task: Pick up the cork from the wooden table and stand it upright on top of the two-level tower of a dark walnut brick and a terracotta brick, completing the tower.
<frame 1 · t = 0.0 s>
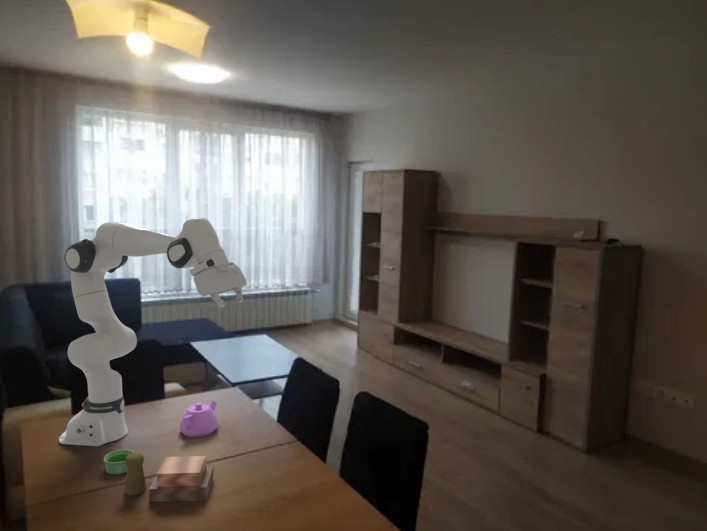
hand: (231, 304, 160), 54 cm above the table, tool tilted 30°, fingers open, 8 cm apart
teapot: (200, 430, 194), on the table
cork: (135, 490, 153), on the table
ramekin: (119, 469, 164), on the table
brick tower: (182, 489, 153), on the table
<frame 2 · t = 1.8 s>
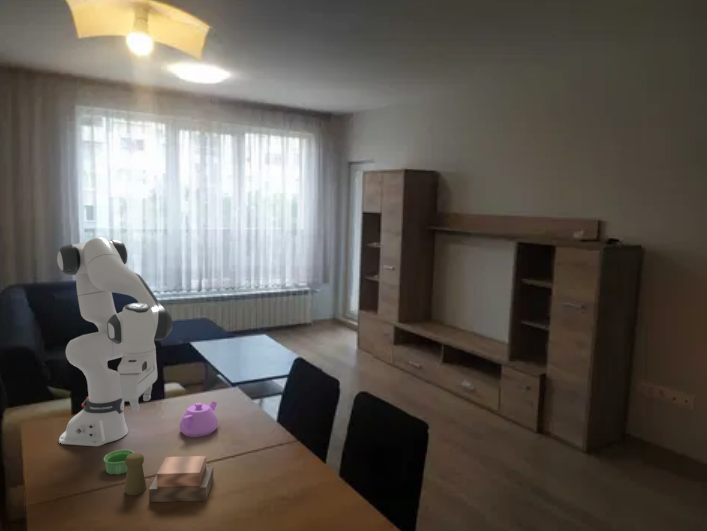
hand: (141, 405, 150), 26 cm above the table, tool pointing down, fingers open, 8 cm apart
nothing on the table moved.
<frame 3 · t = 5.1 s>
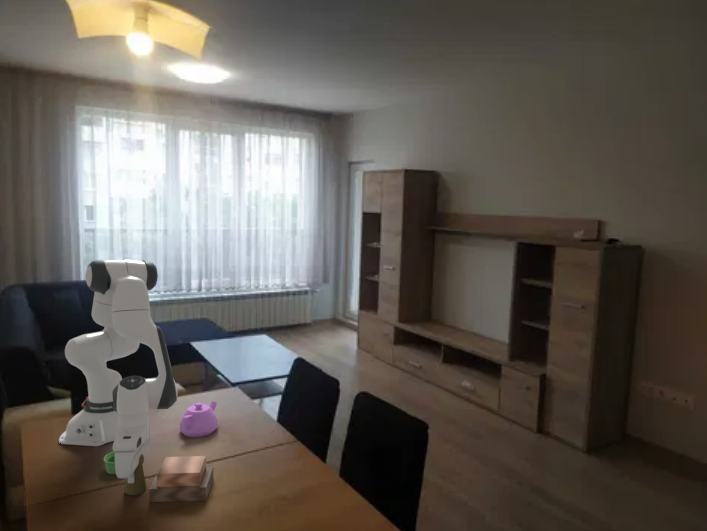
hand: (135, 476, 152), 4 cm above the table, tool pointing down, fingers closed on cork, 5 cm apart
cork: (135, 490, 153), on the table, touching gripper
everything else where it was.
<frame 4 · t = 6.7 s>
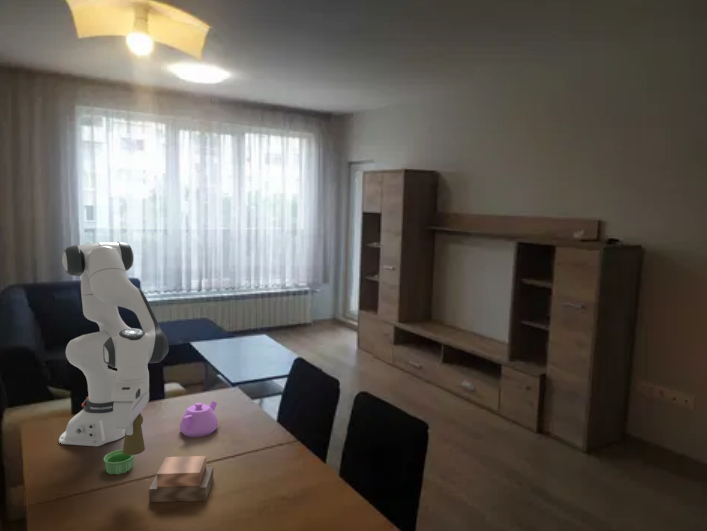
hand: (133, 429, 151), 19 cm above the table, tool pointing down, fingers closed on cork, 4 cm apart
cork: (133, 450, 151), point 12 cm above the table, touching gripper
everything else where it was.
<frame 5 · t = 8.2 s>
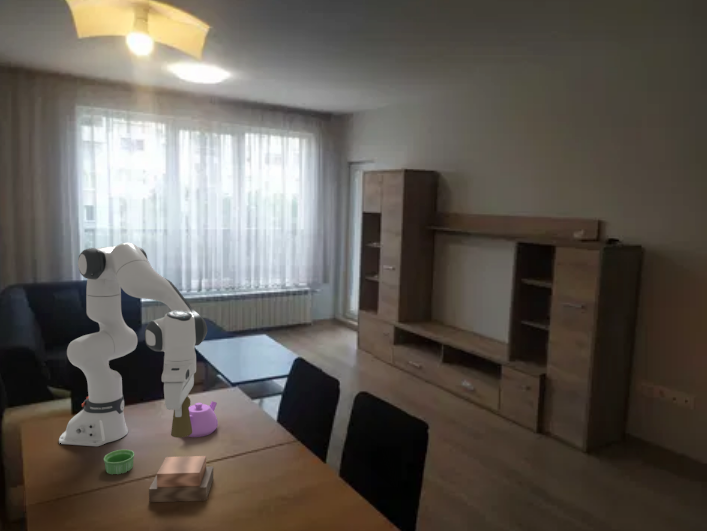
hand: (181, 412, 150), 24 cm above the table, tool pointing down, fingers closed on cork, 4 cm apart
cork: (181, 433, 151), point 18 cm above the table, touching gripper
everything else where it was.
when the fingers open (14 cm above the table, at t = 10.9 s): cork stays where it is, resting on brick tower.
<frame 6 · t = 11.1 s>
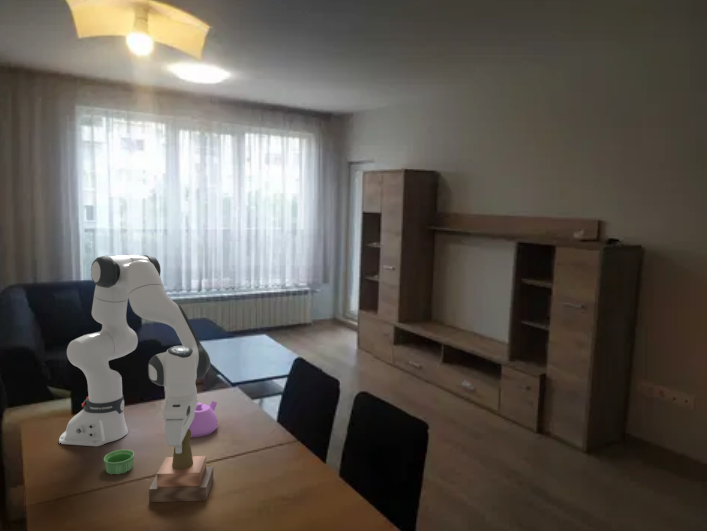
hand: (182, 446, 151), 14 cm above the table, tool pointing down, fingers open, 6 cm apart
cork: (182, 465, 152), point 8 cm above the table, touching brick tower
everything else where it was.
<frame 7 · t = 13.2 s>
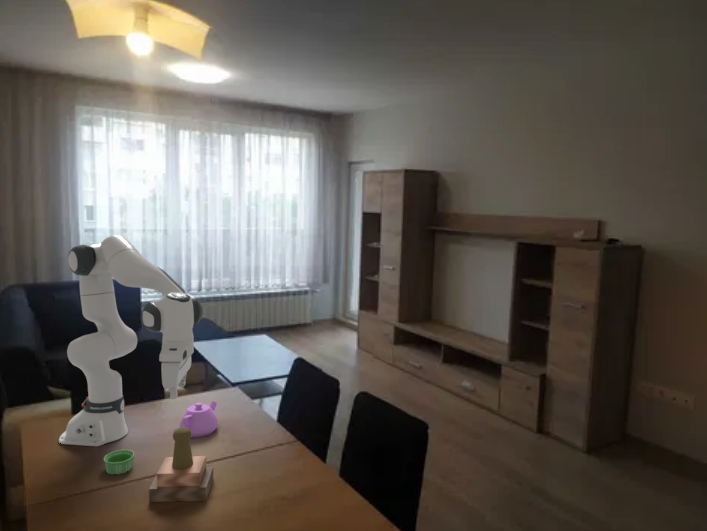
hand: (178, 392, 153), 29 cm above the table, tool pointing down, fingers open, 8 cm apart
nothing on the table moved.
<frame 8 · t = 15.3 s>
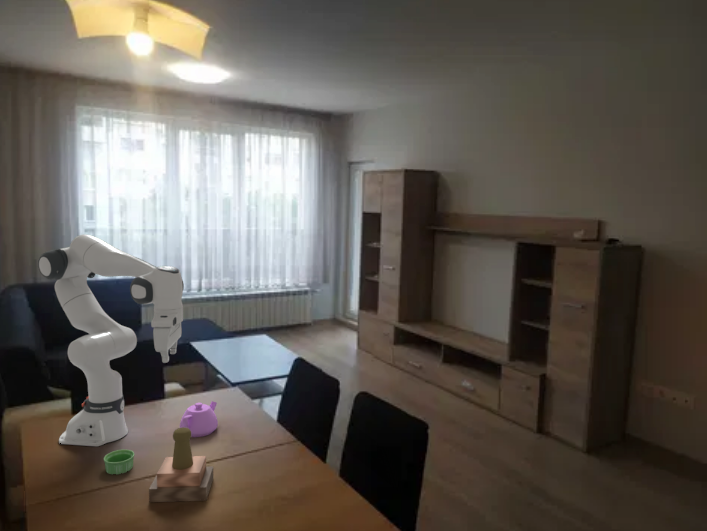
hand: (169, 357, 167), 35 cm above the table, tool pointing down, fingers open, 8 cm apart
nothing on the table moved.
at the end: cork inside the target area on the brick tower (0.1 cm from its centre), point 7.8 cm above the brick tower's base; cork tilted 0°; the gripper is holding nothing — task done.
